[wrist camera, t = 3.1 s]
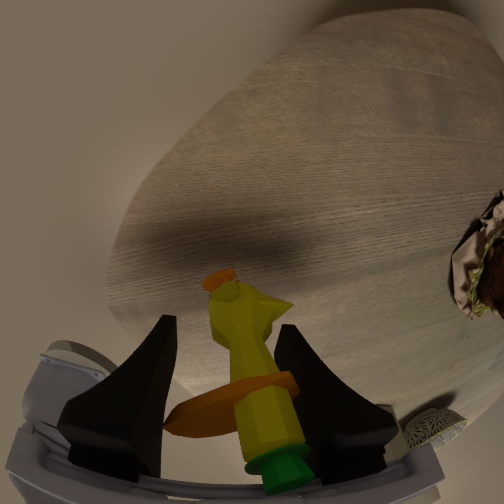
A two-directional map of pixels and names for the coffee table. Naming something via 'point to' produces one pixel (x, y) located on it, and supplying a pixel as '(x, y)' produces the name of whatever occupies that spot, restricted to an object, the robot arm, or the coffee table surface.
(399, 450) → the box
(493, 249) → the bear figurine
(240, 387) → the toy figure
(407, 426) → the bowl
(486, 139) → the coffee table surface
